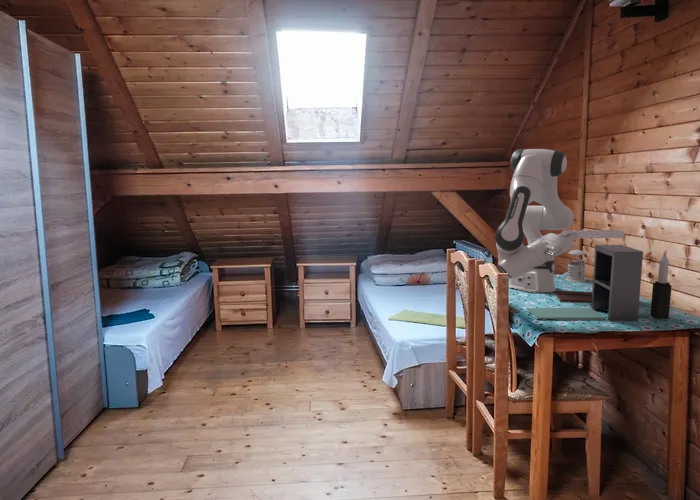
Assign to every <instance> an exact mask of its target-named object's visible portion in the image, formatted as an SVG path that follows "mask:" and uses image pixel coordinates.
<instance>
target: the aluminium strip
mask: <svg viewBox="0 0 700 500" xmlns="http://www.w3.org/2000/svg"><path fill="white" fill-rule="evenodd" d="M574 232H576V233H577V234H578V235H579V236H578V237H577V238H576V239H624V237H625V231H624V230H620V229H612V230H611V229H606V230H603V229H600V230H599V229H595V230H594V229H593V230H592V229H589V230H586V229H585V230H583V229H581V230H580V229H578V230H577V229H576V230H575V229H573V230H572V229H571V230H570V229H562V231H561V233H562V236H563V237H569V236H570V235H571V234H572V233H574Z"/></svg>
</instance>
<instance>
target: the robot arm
mask: <svg viewBox="0 0 700 500" xmlns="http://www.w3.org/2000/svg"><path fill="white" fill-rule="evenodd" d="M567 165H568V159H567V155H566V153H564V152H563V151H561V150H553V149H548V148H547V149H545V148H527V149H525V148H520V149H519V148H518V149H516V150H515V151H514V152H513V153H512V155H511V158H510V169H511V170H512V172H513V174H512V179H511V182H510V187H509V197H510V203H509V206H508V210H507V212H506V215H505V219H504V220H503V221H502V223H501V224H500V225H499V226H498V228H497V229H496V231H495V235H494V238H495V244H496V245H495V246H496V250H497V255H498V263H497V267H498V268H499V270H500V271H501V273H502V274H503V273H508V276H509V280H510V281H509V282H510V283H509V288H508V289H511V288H514V289H513V290H516V289H518V290H517V291H521V290H522V292H526V291H527V293H531V292H533V293H532V294H538V293H552V292H553V293H554V291H557V289H556V284H555V276H554V274H555V273H554V272H555V268H556V267H555V266H556V263H555V260H556V259H555V257H559V256H561V255H563V254H565V253H568V252H570V251H572V250H574V248H575V245H574V242H573V241H574V240H575V239H578V238H577V237H578V236H579V235H578V234H577V233H576V232H574V233H572V234H571V235H570V236H569V237H563V236H562V232H561V233H559V234H557V233H553V232H549V233H546V234H545V235H543V234H542V233H541V231H543V230H544V231H560V230H569V228H570V227H571V226H572V225H573V223H574V219H575V218H574V217H575V216H574V212H573V211H572V210H571V208H570V207H568V206H566V204H564V203H563V201H561V200H560V197H559V194H558V177H560V176H561V175H563V174H564V173H565V170H566V168H567ZM532 202H536V203H538V204H539V205H529V204H531V203H532ZM525 238H526V240H527V245H525V244H524V243H523V242H524V239H525Z"/></svg>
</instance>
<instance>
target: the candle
mask: <svg viewBox="0 0 700 500" xmlns="http://www.w3.org/2000/svg"><path fill="white" fill-rule="evenodd" d="M669 263H670V260H669V259H668V257H667V252H666V251H663V254H662V258H660V260H659V264H658V276H657V280H656V281H655V282H653V283H652V291H651V293H652V294H651V301H650V302H651V304H650V315H649V316H650V317H651V318H653V319H655V320H669V319H670V310H671V309H670V307H671V296H672V288H673V287H672V285H671V284H670V282H668V276H669V275H668V274H669V266H670V265H669Z"/></svg>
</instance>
